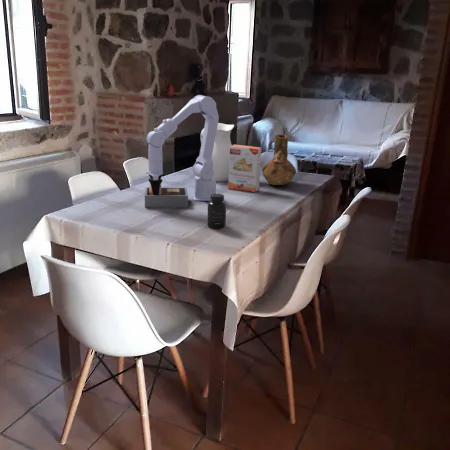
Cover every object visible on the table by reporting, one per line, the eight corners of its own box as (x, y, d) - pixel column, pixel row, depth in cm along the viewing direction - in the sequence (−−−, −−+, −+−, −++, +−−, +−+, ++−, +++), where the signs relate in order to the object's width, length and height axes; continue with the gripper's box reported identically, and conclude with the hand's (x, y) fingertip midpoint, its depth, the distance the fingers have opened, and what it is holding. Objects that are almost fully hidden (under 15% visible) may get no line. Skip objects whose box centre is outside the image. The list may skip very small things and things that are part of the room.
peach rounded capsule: (160, 199, 206) (160, 183, 204) (162, 202, 202) (161, 186, 199) (149, 200, 205) (148, 184, 203) (150, 203, 201) (149, 187, 198)
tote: (186, 198, 212) (186, 187, 210) (187, 207, 199) (188, 195, 197) (145, 198, 209) (145, 187, 208) (144, 207, 197) (144, 195, 195)
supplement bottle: (206, 223, 180) (207, 192, 177) (224, 223, 181) (226, 192, 177) (207, 229, 174) (208, 197, 170) (226, 229, 175) (227, 197, 171)
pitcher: (215, 174, 261) (216, 121, 252) (240, 179, 252) (243, 125, 243) (186, 181, 242) (187, 125, 233) (213, 187, 233) (215, 129, 224)
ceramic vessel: (258, 190, 231) (261, 138, 223) (262, 178, 255) (266, 131, 247) (294, 193, 228) (298, 140, 220) (295, 181, 253) (299, 133, 245)
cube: (178, 199, 207) (178, 188, 205) (179, 203, 202) (179, 191, 201) (167, 199, 206) (167, 188, 205) (167, 203, 202) (167, 191, 200)
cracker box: (227, 189, 230) (229, 145, 224) (232, 186, 236) (233, 144, 229) (255, 193, 226) (258, 148, 219) (259, 190, 231) (262, 146, 224)
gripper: (146, 157, 204) (146, 188, 209) (145, 164, 191) (145, 197, 195) (162, 157, 205) (163, 188, 210) (163, 164, 192) (163, 197, 196)
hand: (155, 192), depth 202 cm, fingers open, 7 cm apart
